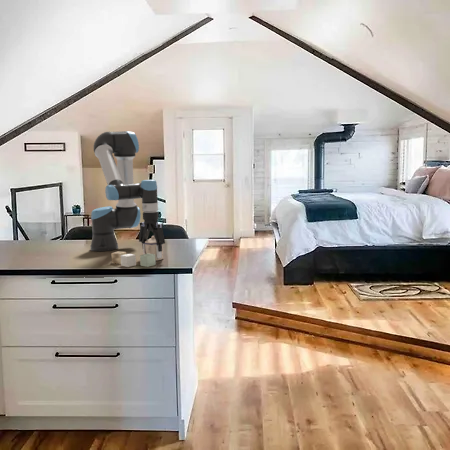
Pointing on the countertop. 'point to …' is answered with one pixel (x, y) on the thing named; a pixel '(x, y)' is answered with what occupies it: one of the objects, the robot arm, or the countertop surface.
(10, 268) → the countertop surface
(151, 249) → the teacup with lid
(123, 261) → the white painted cube
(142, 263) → the sage painted cube
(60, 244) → the countertop surface
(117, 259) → the maple cube
